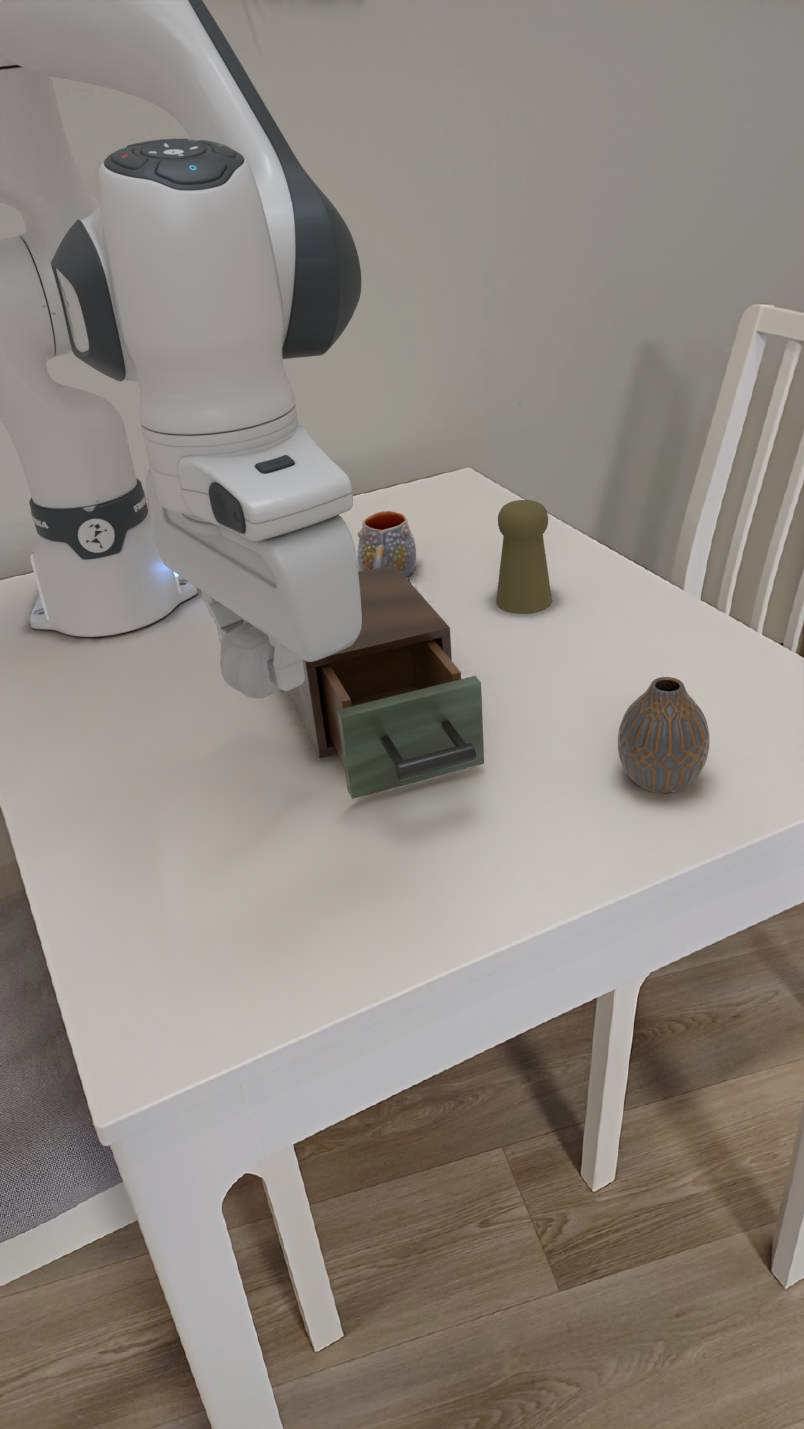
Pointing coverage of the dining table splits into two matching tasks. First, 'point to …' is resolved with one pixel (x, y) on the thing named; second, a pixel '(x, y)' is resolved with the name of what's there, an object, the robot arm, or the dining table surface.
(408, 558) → the grey decorated pot
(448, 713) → the drawer
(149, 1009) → the dining table surface
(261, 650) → the garlic
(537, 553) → the olive green pawn
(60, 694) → the dining table surface
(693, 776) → the vase
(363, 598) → the cabinet
